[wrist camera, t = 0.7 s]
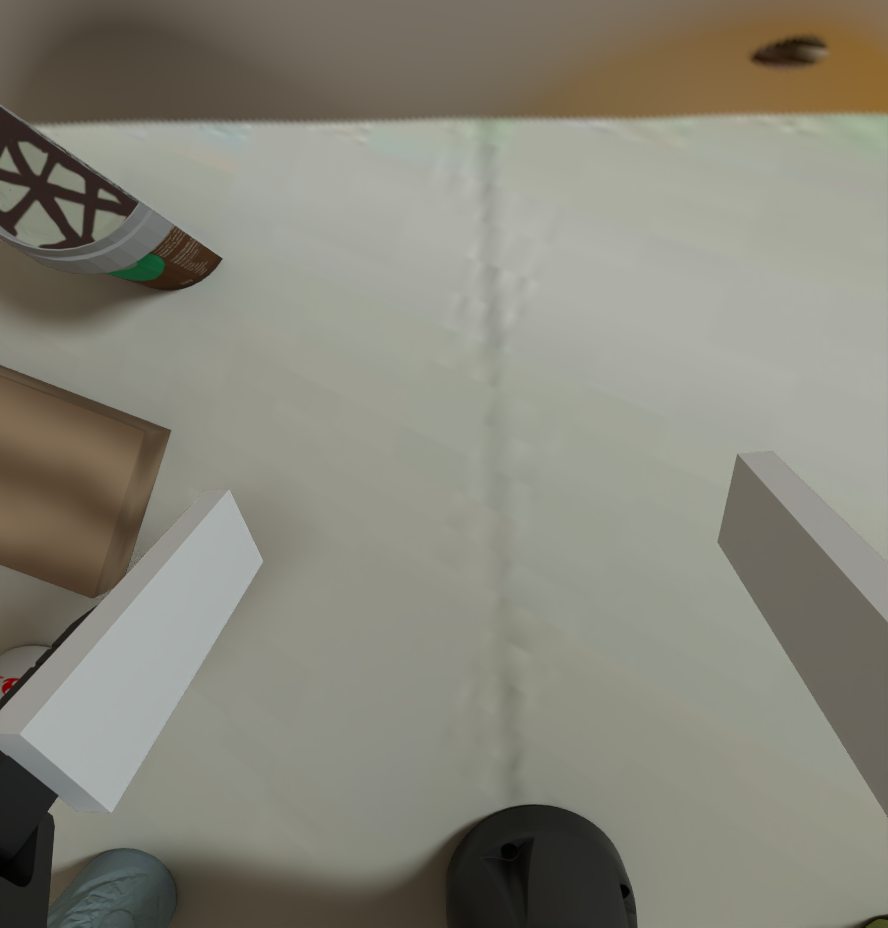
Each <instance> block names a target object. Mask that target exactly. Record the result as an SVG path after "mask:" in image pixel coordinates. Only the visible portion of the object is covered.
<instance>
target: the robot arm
mask: <svg viewBox="0 0 888 928" xmlns="http://www.w3.org/2000/svg"><path fill="white" fill-rule="evenodd" d="M718 544H719V545H720V547H721V549H722V550H723V552H724V553H725V555H726V557H727V558H728V560H729V562H730V563H731V565H732V566H733V568H734V570H735V571H736V573H737V574H738V576H739V578H740V579H741V581H742V582H743V584H744V586H745V587H746V589H747V591H748V592H749V594H750V595H751V597H752V599H753V600H754V602H755V603H756V605H757V607H758V608H759V610H760V612H761V613H762V615H763V616H764V618H765V620H766V621H767V623H768V624H769V626H770V628H771V629H772V631H773V633H774V634H775V636H776V637H777V639H778V641H779V642H780V644H781V645H782V647H783V649H784V650H785V652H786V654H787V655H788V657H789V658H790V660H791V662H792V663H793V665H794V666H795V668H796V670H797V671H798V673H799V675H800V676H801V678H802V679H803V681H804V683H805V684H806V686H807V687H808V689H809V691H810V692H811V694H812V696H813V697H814V699H815V700H816V702H817V704H818V705H819V707H820V708H821V710H822V712H823V713H824V715H825V717H826V718H827V720H828V721H829V723H830V725H831V726H832V728H833V729H834V731H835V733H836V734H837V736H838V738H839V739H840V741H841V742H842V744H843V746H844V747H845V749H846V750H847V752H848V754H849V755H850V757H851V759H852V760H853V762H854V763H855V765H856V767H857V768H858V770H859V771H860V773H861V775H862V776H863V778H864V780H865V781H866V783H867V784H868V786H869V788H870V789H871V791H872V792H873V794H874V796H875V797H876V799H877V801H878V802H879V804H880V805H881V807H882V809H883V810H884V812H885V813H886V815H887V817H888V562H887V561H886V560H885V559H884V558H883V557H882V556H881V555H880V554H879V553H878V552H877V551H876V550H875V549H874V548H872V547H871V546H870V545H869V544H868V543H867V542H866V541H865V540H864V539H863V538H862V537H861V536H860V535H859V534H858V533H857V532H856V531H855V530H854V529H853V528H852V527H851V526H850V525H849V524H848V523H847V522H846V521H845V520H844V519H843V518H842V517H840V516H839V515H838V514H837V513H836V512H835V511H834V510H833V509H832V508H831V507H830V506H829V505H828V504H827V503H826V502H825V501H824V500H823V499H822V498H821V497H820V496H819V495H818V494H817V493H816V492H815V491H814V490H813V489H812V488H811V487H810V486H808V485H807V484H806V483H805V482H804V481H803V480H802V479H801V478H800V477H799V476H798V475H797V474H796V473H795V472H794V471H793V470H792V469H791V468H790V467H789V466H788V465H787V464H786V463H785V462H784V461H783V460H782V459H781V458H780V457H779V456H778V455H776V454H775V453H774V452H773V451H768V452H754V453H739V454H737V457H736V462H735V466H734V471H733V475H732V480H731V484H730V489H729V493H728V497H727V502H726V506H725V511H724V515H723V520H722V524H721V529H720V533H719V538H718ZM262 563H263V560H262V557H261V555H260V553H259V551H258V549H257V547H256V545H255V543H254V541H253V539H252V536H251V534H250V532H249V530H248V528H247V526H246V524H245V522H244V520H243V517H242V515H241V513H240V511H239V509H238V507H237V505H236V503H235V501H234V499H233V496H232V494H231V492H230V490H229V489H225V490H211V491H204V492H203V493H202V494H201V495H200V496H199V497H198V498H197V499H196V501H195V502H194V503H193V504H192V505H191V506H190V507H189V508H188V509H187V510H186V511H185V512H184V513H183V514H182V516H181V517H180V518H179V519H178V520H177V521H176V522H175V523H174V524H173V525H172V526H171V527H170V528H169V530H168V531H167V532H166V533H165V534H164V535H163V536H162V537H161V538H160V539H159V540H158V541H157V542H156V543H155V545H154V546H153V547H152V548H151V549H150V550H149V551H148V552H147V553H146V554H145V555H144V556H143V557H142V559H141V560H140V561H139V562H138V563H137V564H136V565H135V566H134V567H133V568H132V569H131V570H130V571H129V572H128V574H127V575H126V576H125V577H124V578H123V579H122V580H121V581H120V582H119V583H118V584H117V585H116V586H115V588H114V589H113V590H112V591H111V592H110V593H109V594H108V595H107V596H106V597H105V598H104V599H103V600H102V601H101V603H100V604H99V605H97V606H95V607H94V608H92V609H91V610H90V611H88V612H87V613H86V614H84V615H83V616H82V617H80V618H79V619H78V620H76V621H75V622H74V623H72V624H71V625H70V626H69V627H68V628H67V629H66V631H65V632H64V633H63V634H62V635H61V636H60V637H59V638H58V639H57V640H56V641H55V642H54V643H53V644H52V648H51V649H47V650H46V652H45V653H44V654H43V655H42V656H41V657H40V658H39V659H38V660H37V661H36V662H35V666H34V667H30V668H29V669H28V670H27V672H26V673H25V674H24V675H23V676H22V677H21V678H20V679H19V680H18V681H17V682H16V683H15V684H14V685H13V686H12V687H11V688H10V689H9V690H8V692H7V693H6V694H5V695H4V696H3V697H2V698H1V699H0V928H47V919H48V906H49V893H50V880H51V867H52V854H53V841H54V828H55V825H54V820H53V816H52V815H51V814H50V813H48V812H47V811H48V810H49V808H50V807H51V806H52V804H53V803H54V801H55V800H56V798H57V797H59V798H61V799H62V800H63V801H64V802H66V803H67V804H68V805H69V806H71V807H72V808H73V809H74V810H76V811H84V812H103V813H112V811H113V810H114V808H115V806H116V805H117V803H118V801H119V800H120V798H121V796H122V795H123V793H124V791H125V790H126V788H127V786H128V785H129V783H130V781H131V780H132V778H133V776H134V775H135V773H136V772H137V770H138V768H139V767H140V765H141V763H142V762H143V760H144V758H145V757H146V755H147V753H148V752H149V750H150V748H151V747H152V745H153V743H154V742H155V740H156V738H157V737H158V735H159V733H160V732H161V730H162V728H163V727H164V725H165V723H166V722H167V720H168V719H169V717H170V715H171V714H172V712H173V710H174V709H175V707H176V705H177V704H178V702H179V700H180V699H181V697H182V695H183V694H184V692H185V690H186V689H187V687H188V685H189V684H190V682H191V680H192V679H193V677H194V675H195V674H196V672H197V671H198V669H199V667H200V666H201V664H202V662H203V661H204V659H205V657H206V656H207V654H208V652H209V651H210V649H211V647H212V646H213V644H214V642H215V641H216V639H217V637H218V636H219V634H220V632H221V631H222V629H223V627H224V626H225V624H226V622H227V621H228V619H229V618H230V616H231V614H232V613H233V611H234V609H235V608H236V606H237V604H238V603H239V601H240V599H241V598H242V596H243V594H244V593H245V591H246V589H247V588H248V586H249V584H250V583H251V581H252V579H253V578H254V576H255V574H256V573H257V571H258V570H259V568H260V566H261V565H262ZM446 917H447V925H448V928H638V927H637V915H636V904H635V898H634V894H633V890H632V886H631V884H630V881H629V878H628V876H627V873H626V870H625V868H624V865H623V862H622V860H621V857H620V855H619V853H618V851H617V849H616V848H615V846H614V845H613V843H612V842H611V840H610V839H609V838H608V837H607V836H606V835H605V833H604V832H603V831H601V830H600V829H599V828H598V827H597V826H596V825H594V824H593V823H591V822H590V821H589V820H587V819H585V818H583V817H581V816H579V815H577V814H575V813H573V812H570V811H567V810H564V809H560V808H555V807H548V806H525V807H519V808H514V809H510V810H507V811H503V812H501V813H498V814H496V815H494V816H492V817H490V818H488V819H486V820H485V821H483V822H482V823H480V824H479V825H478V826H476V827H475V828H474V829H473V830H472V831H471V832H470V833H469V834H468V835H467V836H466V837H465V838H464V839H463V840H462V842H461V843H460V845H459V846H458V848H457V849H456V851H455V853H454V855H453V857H452V860H451V862H450V865H449V869H448V873H447V881H446Z"/></svg>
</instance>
